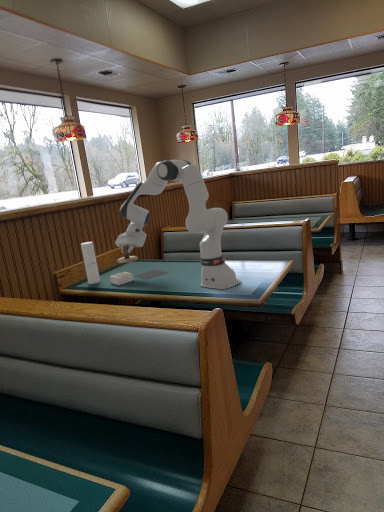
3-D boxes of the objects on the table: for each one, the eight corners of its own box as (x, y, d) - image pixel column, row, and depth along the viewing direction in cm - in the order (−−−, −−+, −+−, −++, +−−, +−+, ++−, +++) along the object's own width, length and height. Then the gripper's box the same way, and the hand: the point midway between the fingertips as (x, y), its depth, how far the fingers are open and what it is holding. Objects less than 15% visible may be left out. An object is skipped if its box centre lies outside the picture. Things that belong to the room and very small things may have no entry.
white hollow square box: (133, 280, 228) (132, 273, 227) (118, 285, 222) (117, 278, 221) (125, 278, 236) (124, 271, 235) (111, 283, 230) (109, 275, 229)
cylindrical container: (98, 283, 234) (90, 243, 228) (87, 284, 234) (79, 244, 228) (101, 279, 240) (94, 241, 235) (90, 281, 241) (82, 242, 235)
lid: (141, 258, 228) (138, 244, 226) (123, 263, 221) (120, 248, 219) (131, 256, 237) (128, 242, 235) (113, 261, 230) (111, 246, 228)
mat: (168, 273, 235) (168, 272, 235) (146, 280, 226) (146, 279, 225) (154, 270, 247) (154, 269, 247) (133, 276, 238) (133, 276, 238)
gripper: (117, 230, 236) (109, 249, 231) (143, 229, 225) (135, 249, 220) (123, 235, 241) (115, 254, 235) (149, 235, 230) (141, 255, 224)
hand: (125, 252), depth 227 cm, fingers closed on lid, 3 cm apart
